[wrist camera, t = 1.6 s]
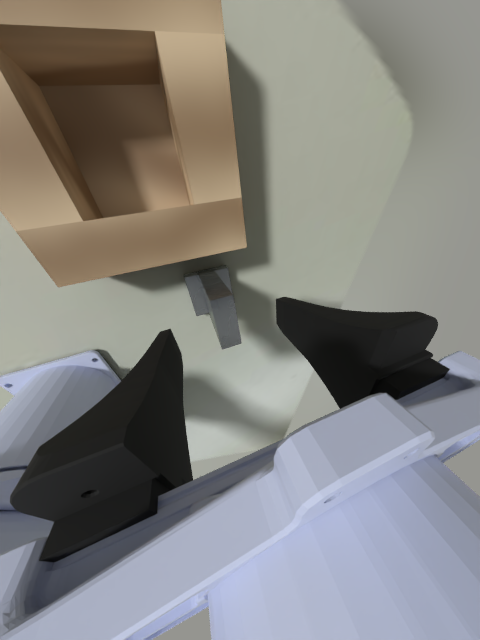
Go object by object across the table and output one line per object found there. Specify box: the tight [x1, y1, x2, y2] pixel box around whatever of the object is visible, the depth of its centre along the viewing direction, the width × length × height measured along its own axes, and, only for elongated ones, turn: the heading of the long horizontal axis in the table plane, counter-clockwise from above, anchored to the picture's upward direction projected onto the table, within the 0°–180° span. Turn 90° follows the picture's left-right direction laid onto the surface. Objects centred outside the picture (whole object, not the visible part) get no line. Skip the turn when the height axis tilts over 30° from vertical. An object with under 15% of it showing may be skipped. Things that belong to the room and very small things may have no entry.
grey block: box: [184, 266, 241, 349], centre depth 15 cm, size 4×4×7 cm
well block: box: [0, 0, 247, 287], centre depth 10 cm, size 12×12×4 cm
